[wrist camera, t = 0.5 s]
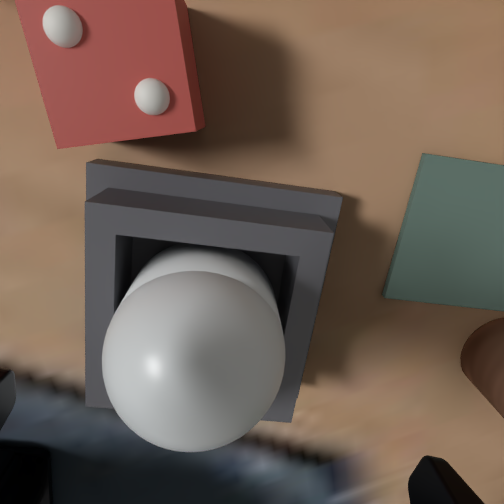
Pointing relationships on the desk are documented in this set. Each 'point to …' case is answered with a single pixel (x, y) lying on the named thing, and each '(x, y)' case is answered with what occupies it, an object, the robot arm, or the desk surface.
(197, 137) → the desk surface
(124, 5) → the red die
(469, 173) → the tile
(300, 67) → the desk surface
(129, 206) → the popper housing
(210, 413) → the dome
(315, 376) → the desk surface
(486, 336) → the terracotta pawn
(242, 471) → the desk surface
